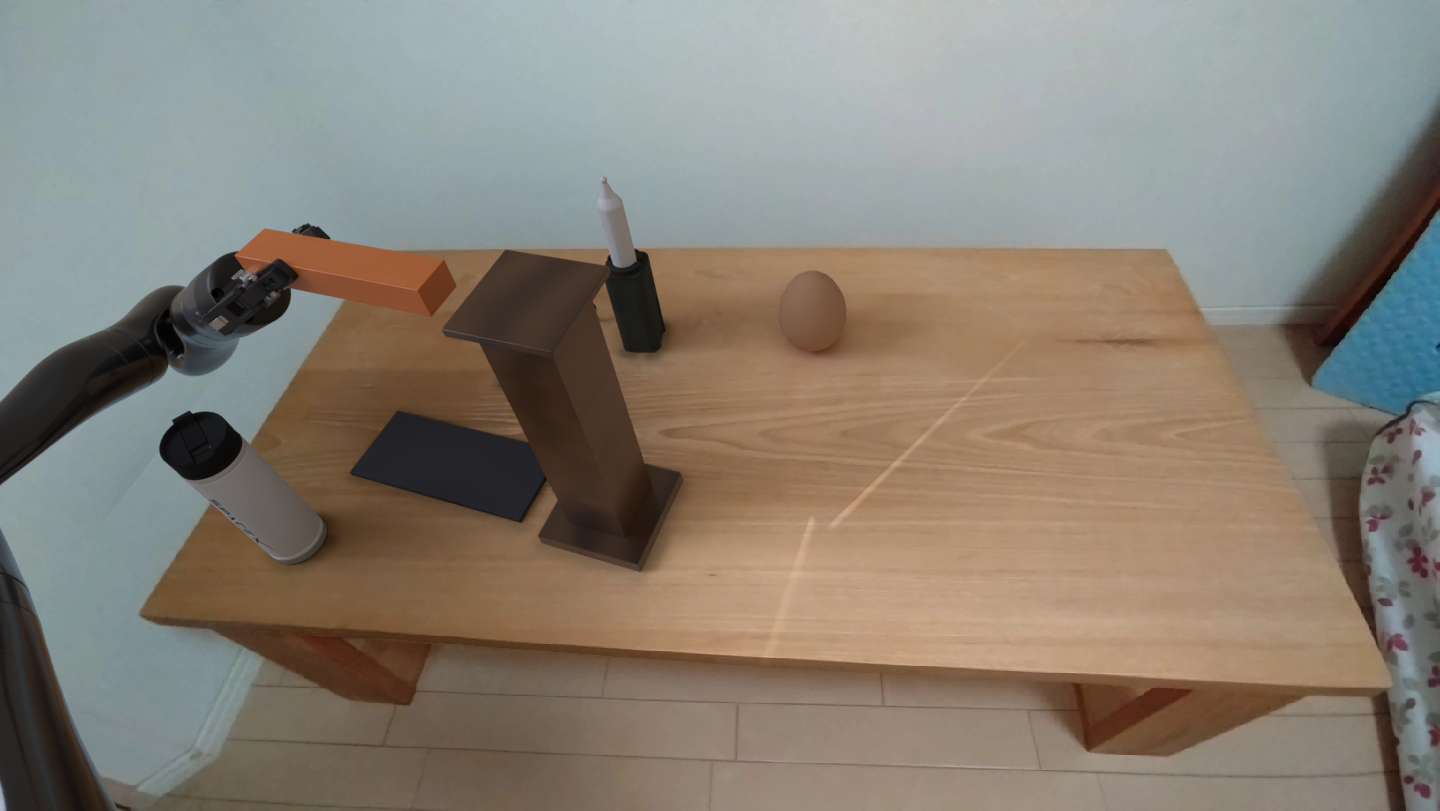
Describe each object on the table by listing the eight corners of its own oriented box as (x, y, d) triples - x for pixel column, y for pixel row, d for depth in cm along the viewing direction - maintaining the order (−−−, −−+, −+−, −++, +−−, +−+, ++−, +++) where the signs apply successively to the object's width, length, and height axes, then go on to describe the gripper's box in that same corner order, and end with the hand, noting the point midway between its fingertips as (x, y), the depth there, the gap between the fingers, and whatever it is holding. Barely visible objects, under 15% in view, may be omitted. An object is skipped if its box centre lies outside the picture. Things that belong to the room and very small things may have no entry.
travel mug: (315, 505, 91) (211, 396, 76) (336, 541, 87) (230, 434, 72) (264, 537, 89) (146, 431, 74) (283, 576, 85) (163, 472, 70)
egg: (859, 340, 98) (861, 272, 90) (815, 377, 95) (813, 310, 87) (810, 311, 103) (808, 244, 94) (767, 346, 100) (761, 279, 91)
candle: (659, 353, 101) (619, 190, 82) (622, 351, 102) (573, 190, 83) (667, 325, 104) (630, 162, 85) (630, 324, 105) (586, 163, 86)
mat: (562, 453, 92) (560, 450, 92) (520, 523, 86) (519, 520, 86) (399, 413, 99) (397, 410, 99) (351, 475, 93) (349, 472, 93)
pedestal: (683, 480, 87) (625, 259, 63) (640, 572, 81) (557, 364, 56) (589, 457, 91) (501, 240, 67) (541, 543, 84) (422, 336, 60)
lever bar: (457, 286, 67) (444, 259, 65) (431, 317, 65) (417, 290, 63) (281, 253, 73) (264, 227, 71) (252, 281, 71) (233, 255, 69)
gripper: (310, 279, 85) (385, 235, 74) (218, 373, 77) (287, 338, 66) (251, 227, 81) (321, 171, 70) (147, 319, 73) (207, 273, 62)
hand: (304, 252), depth 68 cm, fingers closed on lever bar, 4 cm apart
